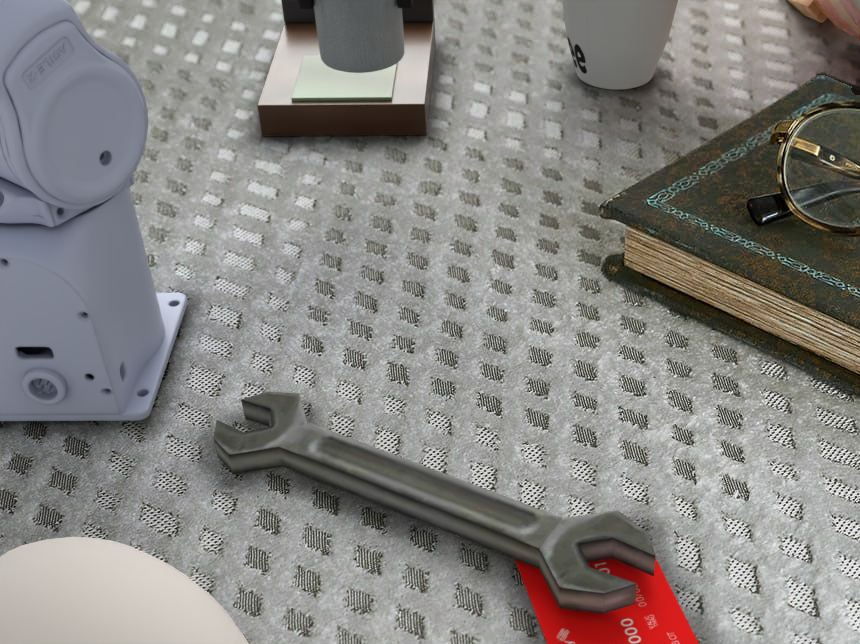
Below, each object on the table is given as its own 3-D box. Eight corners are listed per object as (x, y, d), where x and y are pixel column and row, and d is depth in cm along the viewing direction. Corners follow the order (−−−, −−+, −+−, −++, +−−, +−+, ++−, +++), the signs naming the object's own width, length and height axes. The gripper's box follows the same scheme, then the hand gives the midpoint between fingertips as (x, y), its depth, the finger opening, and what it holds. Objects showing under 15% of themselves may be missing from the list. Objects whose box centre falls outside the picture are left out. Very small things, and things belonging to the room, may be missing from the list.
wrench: (615, 614, 43) (189, 439, 50) (615, 642, 44) (200, 467, 51) (673, 522, 45) (260, 369, 53) (671, 551, 47) (268, 397, 54)
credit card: (512, 552, 47) (512, 551, 47) (639, 526, 48) (639, 525, 48) (577, 723, 41) (577, 722, 41) (721, 689, 42) (721, 688, 42)
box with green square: (426, 135, 72) (423, 77, 70) (262, 136, 72) (252, 79, 70) (435, 45, 82) (433, -8, 79) (290, 46, 82) (283, -7, 79)
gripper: (494, -331, 55) (498, -30, 65) (183, -327, 55) (232, -28, 65) (492, -298, 50) (496, 24, 60) (149, -294, 50) (207, 25, 60)
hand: (357, 1), depth 62 cm, fingers closed on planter, 4 cm apart
